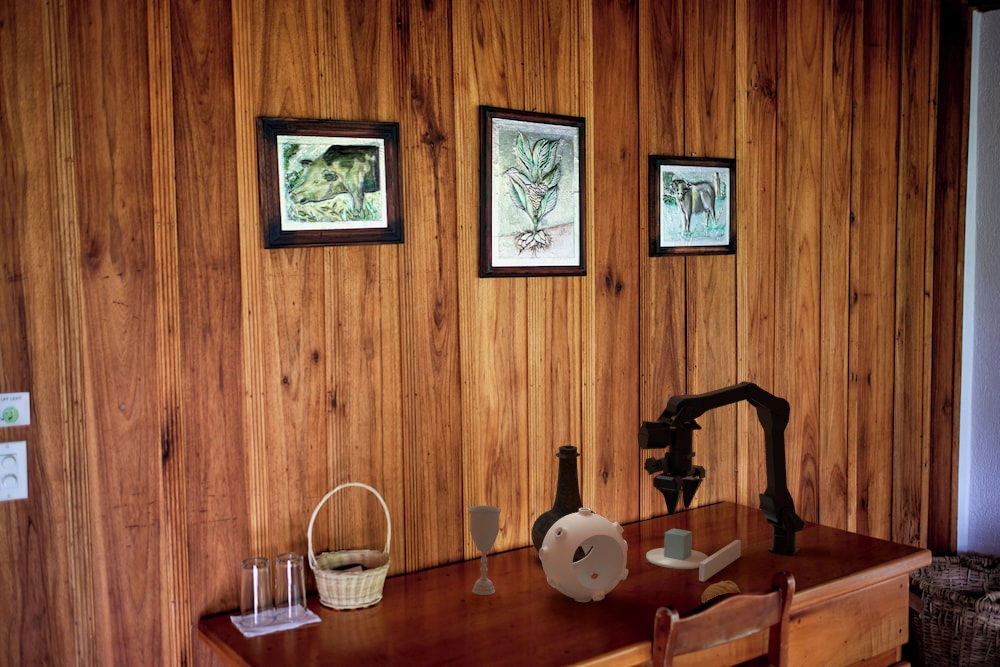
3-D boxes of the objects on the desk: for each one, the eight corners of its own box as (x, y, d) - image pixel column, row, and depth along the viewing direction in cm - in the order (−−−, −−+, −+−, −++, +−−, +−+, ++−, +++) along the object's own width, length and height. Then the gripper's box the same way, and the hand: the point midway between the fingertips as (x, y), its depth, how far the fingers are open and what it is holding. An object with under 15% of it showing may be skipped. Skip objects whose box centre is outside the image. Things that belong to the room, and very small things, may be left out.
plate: (661, 547, 240) (661, 544, 240) (718, 557, 231) (718, 554, 231) (636, 561, 227) (636, 558, 227) (694, 573, 219) (694, 569, 219)
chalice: (504, 588, 206) (505, 507, 205) (494, 598, 200) (495, 514, 199) (473, 584, 209) (474, 504, 208) (462, 593, 202) (463, 511, 201)
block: (672, 552, 233) (673, 528, 232) (691, 555, 230) (692, 531, 230) (664, 556, 229) (664, 532, 228) (683, 560, 226) (683, 536, 225)
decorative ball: (605, 582, 211) (606, 496, 210) (643, 607, 195) (645, 514, 194) (523, 591, 204) (524, 502, 203) (556, 618, 188) (557, 522, 187)
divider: (735, 555, 233) (736, 539, 233) (740, 556, 233) (740, 540, 233) (699, 580, 214) (699, 563, 213) (704, 581, 213) (704, 564, 213)
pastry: (720, 611, 194) (720, 593, 194) (692, 603, 199) (692, 585, 199) (744, 601, 201) (744, 583, 201) (716, 593, 206) (717, 576, 206)
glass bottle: (620, 564, 225) (623, 448, 223) (561, 577, 214) (564, 456, 213) (573, 546, 239) (575, 437, 238) (516, 557, 229) (518, 443, 228)
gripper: (665, 439, 240) (664, 499, 241) (633, 449, 224) (632, 514, 225) (707, 444, 234) (705, 505, 235) (677, 455, 218) (675, 521, 219)
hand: (678, 511), depth 229 cm, fingers open, 9 cm apart
